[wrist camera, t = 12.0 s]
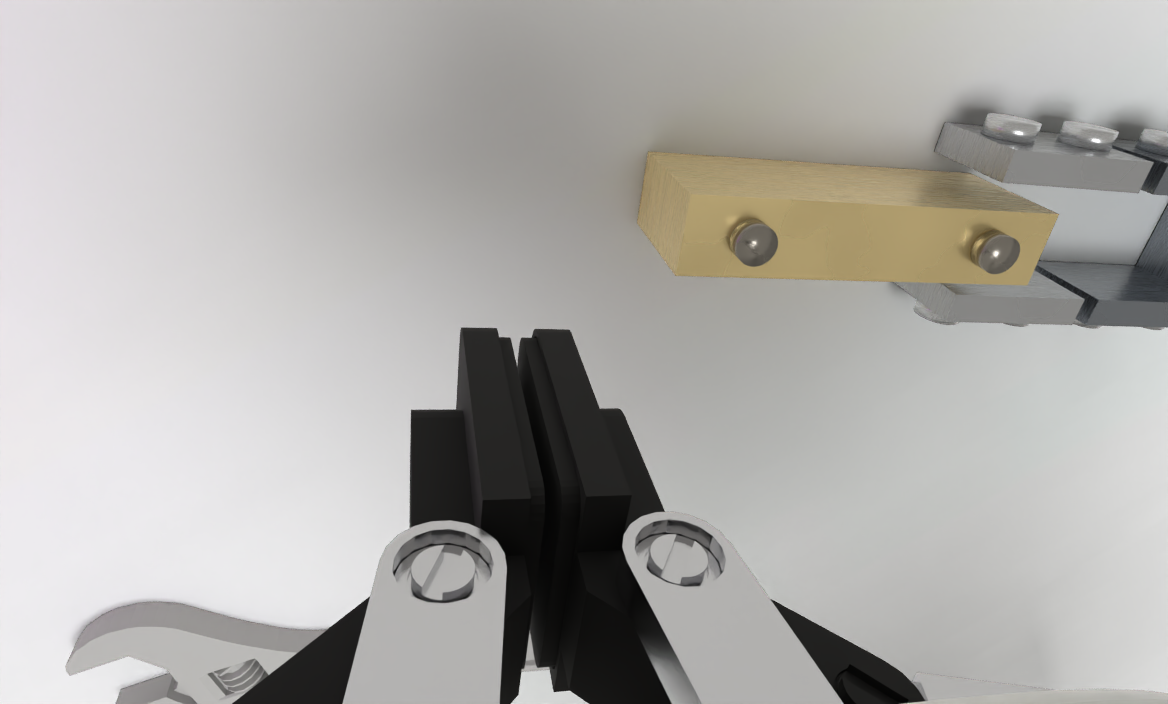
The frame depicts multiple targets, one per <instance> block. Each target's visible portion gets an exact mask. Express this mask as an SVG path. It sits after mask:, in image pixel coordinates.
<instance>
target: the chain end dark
mask: <svg viewBox="0 0 1168 704" xmlns="http://www.w3.org/2000/svg"><path fill="white" fill-rule="evenodd" d="M1112 149H1115V150H1118V151H1121V152H1124V153H1127V154H1130V155H1133V156H1136V157H1139V158H1142V159H1145V160H1148V161H1151V162H1154V163H1153V165H1152V167H1151V169H1150V171H1149V173H1148V175H1147V177H1146V179H1145V181H1144V183H1143V185H1142V187H1141V190H1143V191H1146V192H1148V193H1151V194H1156V195H1168V132H1166V131H1161V130H1154V129H1144V130H1143V132H1142V134H1141V136H1140V138H1139V140H1138V141H1131V140H1121V139H1116V140H1115V142H1114V144H1113V146H1112ZM1034 270H1035V271H1036V272H1038V273H1040V274H1042V275H1043V276H1045V277H1047V278H1048V279H1050V280H1052V281H1054V282H1055V283H1057V284H1059V285H1061V286H1062V287H1064V288H1066V289H1068V290H1069V291H1071V292H1073V293H1075V294H1076V295H1078V296H1080V297H1082V298H1083V299H1085V300H1084V302H1083V304H1082V306H1081V308H1080V310H1079V312H1078V314H1077V316H1076V318H1075V320H1074V322H1073V324H1075V325H1078V326H1082V327H1086V328H1100V327H1101V326H1134V327H1143V328H1147V329H1152V330H1162V329H1164V327H1168V206H1167V207H1166V209H1165V211H1164V213H1163V215H1162V217H1161V219H1160V221H1159V223H1158V224H1157V226H1156V228H1155V230H1154V232H1153V234H1152V236H1151V238H1150V240H1149V242H1148V243H1147V245H1146V247H1145V249H1144V251H1143V253H1142V255H1141V257H1140V259H1139V261H1138V262H1137V264H1136V266H1133V265H1113V264H1093V263H1072V262H1052V261H1038V263H1037V265H1036V267H1035V269H1034Z"/></svg>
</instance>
